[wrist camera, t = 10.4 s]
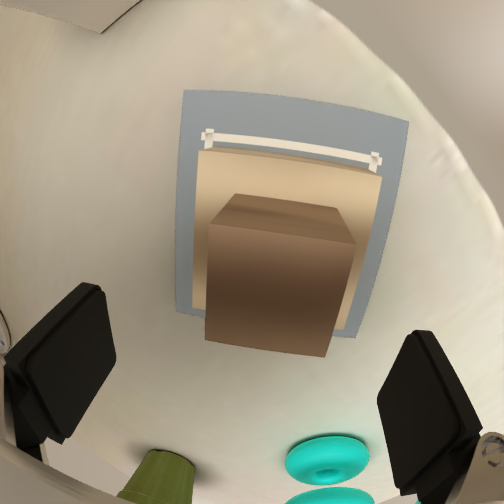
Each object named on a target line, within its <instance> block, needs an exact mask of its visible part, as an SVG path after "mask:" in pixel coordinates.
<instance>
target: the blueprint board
mask: <svg viewBox="0 0 504 504" xmlns="http://www.w3.org/2000/svg"><path fill="white" fill-rule="evenodd" d="M408 125H409V121H405V120H402V119H398V118H394V117H391V116H387V115H383V114H379V113H375V112H370V111H366V110H362V109H357V108H352V107H347V106H342V105H337V104H332V103H326V102H321V101H315V100H308V99H301V98H294V97H287V96H278V95H269V94H259V93H248V92H234V91H214V90H184V94H183V104H182V115H181V127H180V140H179V154H178V171H177V192H176V225H175V294H176V312H180V313H185V314H191V315H196V316H201V317H205V312H206V310H201V309H196V308H192V288H193V246H194V220H195V200H196V183H197V168H198V154H199V150H203V149H207V148H211V147H215V146H223V147H234V148H244V149H253V150H262V151H270V152H278V153H285V154H293V155H299V156H306V157H312V158H318V159H324V160H330V161H336V162H341V163H347V164H352V165H357V166H362V167H365V168H367V169H369V170H371V171H373V172H374V173H376V174H378V175H380V176H382V182H381V187H380V192H379V197H378V202H377V207H376V211H375V216H374V221H373V225H372V229H371V233H370V238H369V242H368V246H367V250H366V254H365V258H364V261H363V265H362V269H361V273H360V276H359V280H358V283H357V287H356V290H355V294H354V297H353V301H352V304H351V307H350V310H349V314H348V317H347V320H346V323H345V326H344V329H343V330H338V329H334V331H333V334H332V336H339V337H348V338H356V336H357V333H358V330H359V327H360V324H361V321H362V319H363V316H364V313H365V310H366V307H367V304H368V301H369V298H370V294H371V291H372V288H373V285H374V281H375V278H376V275H377V271H378V268H379V264H380V261H381V257H382V254H383V250H384V246H385V242H386V238H387V235H388V231H389V226H390V222H391V218H392V214H393V209H394V205H395V200H396V196H397V191H398V186H399V181H400V175H401V170H402V164H403V159H404V153H405V146H406V140H407V133H408Z"/></svg>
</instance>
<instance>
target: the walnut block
mask: <svg viewBox="0 0 504 504" xmlns="http://www.w3.org/2000/svg"><path fill="white" fill-rule="evenodd" d="M356 247H357V244H356V242H355V240H354V238H353V237H352V235H351V233H350V231H349V229H348V227H347V225H346V224H345V222H344V220H343V218H342V216H341V215H340V213H339V211H338V209H337V208H335V207H328V206H322V205H316V204H310V203H303V202H296V201H290V200H283V199H275V198H268V197H261V196H253V195H245V194H237V193H235V194H234V195H233V196H232V198H231V199H230V200H229V201H228V202H227V203H226V205H225V206H224V207H223V208H222V209H221V211H220V212H219V213H218V214H217V215H216V216H215V218H214V219H213V220H212V221H211V222H210V224H209V241H208V261H207V283H206V312H205V340H209V341H214V342H219V343H225V344H231V345H237V346H243V347H249V348H255V349H262V350H269V351H276V352H283V353H291V354H299V355H308V356H317V357H325V355H326V352H327V349H328V346H329V343H330V340H331V337H332V334H333V331H334V327H335V324H336V321H337V317H338V314H339V311H340V307H341V304H342V300H343V297H344V293H345V290H346V286H347V282H348V278H349V275H350V271H351V267H352V263H353V259H354V255H355V251H356Z"/></svg>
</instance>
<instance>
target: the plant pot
mask: <svg viewBox="0 0 504 504" xmlns="http://www.w3.org/2000/svg"><path fill="white" fill-rule="evenodd" d="M194 473H195V468H194V466H192V465H191V464H190V462H189V461H188V460H186V459H185V458H183V457H181V456H178V455H176V454H174V453H171V452H166V451H160V452H158V451H155V450H152V451H149V452H148V454H147V455H146V457H145V458H144V460H143V461H142V462H141V464H140V465H139V467H138V468H137V470H136V471H135V473H134V474H133V476H132V477H131V479H130V480H129V481H128V483H127V484H126V486H125V487H124V489H123V490H122V491H120V492H119V493H118V495H117V496H116V497H119V498H121V499H124V500H127V501H130V502H133V503H136V504H192V493H193V483H194Z"/></svg>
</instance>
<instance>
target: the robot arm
mask: <svg viewBox="0 0 504 504" xmlns="http://www.w3.org/2000/svg"><path fill="white" fill-rule="evenodd" d="M9 347H10V337H9V333H8V329H7V326H6V324H5V321H4V319H3V317H2V315H1V313H0V354H3V353H5V352H6V351H7V350H8V349H9ZM4 359H5V361H6V364H5V366H4V367H3V366H2V364H1V362H0V504H136V503H133V502H130V501H127V500H124V499H121V498H119V497H116V496H113V495H111V494H108V493H106V492H103V491H101V490H98V489H96V488H93V487H91V486H89V485H87V484H84V483H82V482H80V481H78V480H75V479H74V478H72V477H69V476H67V475H65V474H63V473H61V472H59V471H58V470H56V469H53V468H52V467H50V466H49V462H48V458H47V453H46V449H45V444H44V441H45V439H46V438H47V436H48V438H50V439H52V440H54V441H55V442H57V443H59V444H62V443H63V442H64V440H65V438H69V437H71V435H72V434H73V432H74V430H75V429H76V427H77V425H78V424H79V422H80V420H81V419H82V417H83V415H84V414H85V412H86V410H87V409H88V407H89V405H90V404H91V402H92V400H93V399H94V397H95V396H96V394H97V392H98V391H99V389H100V387H101V386H102V384H103V383H104V381H105V379H106V378H107V376H108V375H109V373H110V372H111V370H112V368H113V367H114V365H115V362H116V352H115V347H114V342H113V337H112V332H111V327H110V321H109V315H108V309H107V302H106V296H105V293H104V292H103V291H102V290H101V288H100V286H98V285H94V284H90V283H86V282H82V283H81V284H79V285H78V286H77V287H76V288H75V289H74V290H73V291H72V292H70V293H69V294H68V295H67V296H66V297H65V298H64V299H63V300H62V301H61V302H59V303H58V304H57V305H56V306H55V307H54V308H53V309H52V310H51V311H50V312H49V313H48V314H47V315H46V316H44V317H43V318H42V319H41V320H40V321H39V322H38V323H37V324H36V325H35V326H34V327H33V328H32V329H31V330H30V331H29V332H28V333H27V334H26V335H25V336H24V337H23V338H22V339H21V340H20V341H19V342H18V343H17V344H16V345H15V346H14V347H13V348H12V349H11V350H10V351H9V352H8V353H7V354H6V355H5V356H4ZM377 405H378V409H379V413H380V418H381V422H382V426H383V430H384V435H385V439H386V444H387V448H388V453H389V458H390V463H391V468H392V473H393V478H394V483H395V486H396V488H399V489H400V495H401V496H405V495H411V494H416V493H417V497H418V500H417V502H416V504H504V436H503V435H502V434H500V433H497V432H488V433H486V434H484V435H483V436H482V437H481V436H480V434H479V432H480V431H481V430H482V429H483V427H482V425H481V423H480V420H479V418H478V416H477V414H476V412H475V410H474V408H473V406H472V404H471V402H470V400H469V398H468V396H467V394H466V392H465V390H464V388H463V386H462V384H461V382H460V380H459V378H458V376H457V374H456V373H455V371H454V369H453V367H452V365H451V363H450V362H449V360H448V358H447V356H446V354H445V353H444V351H443V349H442V348H441V346H440V344H439V342H438V341H437V339H436V337H435V336H434V334H433V333H432V331H426V330H414V331H413V332H412V333H411V334H409V335H407V337H406V338H405V341H404V343H403V345H402V347H401V349H400V351H399V354H398V356H397V358H396V360H395V362H394V364H393V366H392V368H391V370H390V372H389V374H388V376H387V378H386V380H385V382H384V384H383V386H382V388H381V389H380V391H379V393H378V396H377Z"/></svg>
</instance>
